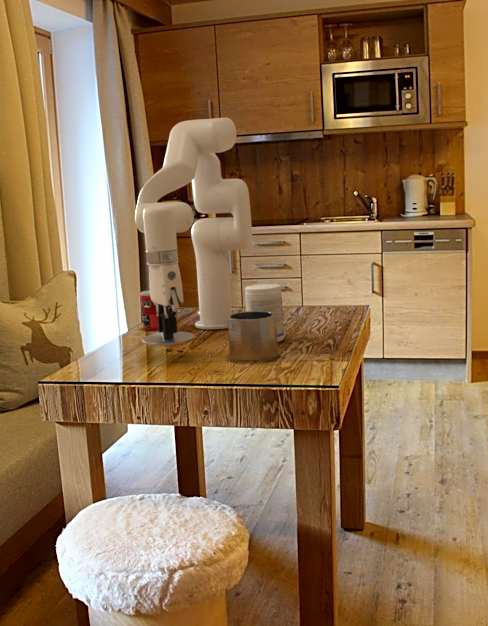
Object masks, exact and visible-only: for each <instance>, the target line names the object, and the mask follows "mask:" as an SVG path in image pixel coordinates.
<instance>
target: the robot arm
mask: <svg viewBox="0 0 488 626" xmlns="http://www.w3.org/2000/svg"><path fill="white" fill-rule="evenodd" d="M236 141H237V128H236V125H235V123H234V121H233V120H232V119H231V118H229V117H213V118H199V119H190V120H188V119H187V120H183V121H179V122H178V123H177V124H175V125H174V126H173V127H172V128H171V130H170V132H169V136H168V142H167V146H166V149H165V150H166V151H165V156H164V160H163V165H162V168H160V169H159V170H158V171H157V172H156V173H154V174H153V175H152V176H151V177H150V178H149V179H148V180H147V181H146V182H145V184H144V185H143V186H142V187H141V189H140V191H139V194H138V197H137V203H136V208H135V212H134V213H135V214H134V221H135V226H136V228H137V229H138V231H139V232H140V233H143V234H144V244H145V256H146V265H147V266H148V288H149V290H150V297H151V300H152V301H153V303H154V304H155V307H156V311H157V316H158V329H159V330H158V333H162V332H163V330H162V318H161V314H164V315H165V318H163V321H164V333H165V334H166V335H168V334H173V333H177V332H178V323H177V316H178V311H179V310H180V305H182V304H183V303H184V291H183V283H182V276H181V272H180V271H181V270H180V267H179V253H178V252H179V251H178V241H177V234H179V233H181V234H182V233H185V232H187V231H188V230H190V235H191V241H192V246H193V250H194V256H195V263H196V279H197V294H198V312H197V315H198V316H199V320H197V321H195V323H194V327H195V328H196V329H199V330H207V331H208V330H210V331H211V330H224V329H228V324H227V316H229V315H230V314H233V306H232V287H231V271H230V270H231V269H230V264H229V262H228V260H227V259H226V257H225V256H224V255H223V254H222V253H221V252H227V251H229V252H231V251H233V252H234V251H245V250H247V249H249V248H250V247H251V245H252V243H253V228H252V226H253V225H252V212H251V211H252V210H251V200H250V192H249V187H248V185H247V183H246V181H244V180H243V179H240V178H223V177H222V169H221V168H222V167H221V161H220V159H219V157H218V156H217V155H216V154H217V153H223V152H226V151H229V150H231V149H232V148H233V147H234V146H235V145H236ZM190 183H191V188H192V198H193V205H194V208H195V210H196V211H197V213H200V214H206V215H207V214H208V215H209V214H231V215H232V216H233V217H232V216H230V217H229V216H228V217H206V218H205V217H204V218H201V219H198V220H196V221H195V220H194V219H195V215H194V211H193V208H192V207H191V206H190V205H189V204H188V203H186V202H183V201H170V202H169V201H167V202H166V201H165V202H158V201H159V200H160V199H161V198H163V197H164V196H166V195H168V194H170V193H172V192H175V191H177V190H179V189H180V188H181V189H182V188H183V187H185V186H187V185H188V184H190ZM194 221H195V222H194ZM190 228H191V229H190Z"/></svg>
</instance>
